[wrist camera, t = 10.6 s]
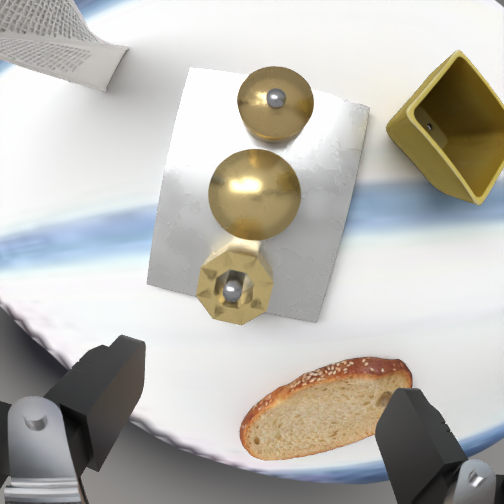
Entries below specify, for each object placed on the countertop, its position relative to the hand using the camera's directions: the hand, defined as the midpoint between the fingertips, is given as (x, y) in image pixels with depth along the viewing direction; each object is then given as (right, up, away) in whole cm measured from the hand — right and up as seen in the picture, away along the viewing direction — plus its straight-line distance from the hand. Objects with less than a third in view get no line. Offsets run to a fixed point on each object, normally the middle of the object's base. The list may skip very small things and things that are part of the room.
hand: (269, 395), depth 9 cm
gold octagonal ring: (-2, +2, +18) cm, 18 cm away
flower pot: (+15, +15, +16) cm, 27 cm away
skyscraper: (-17, +24, +16) cm, 33 cm away
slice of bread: (+8, -14, +24) cm, 29 cm away
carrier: (0, +9, +18) cm, 20 cm away
